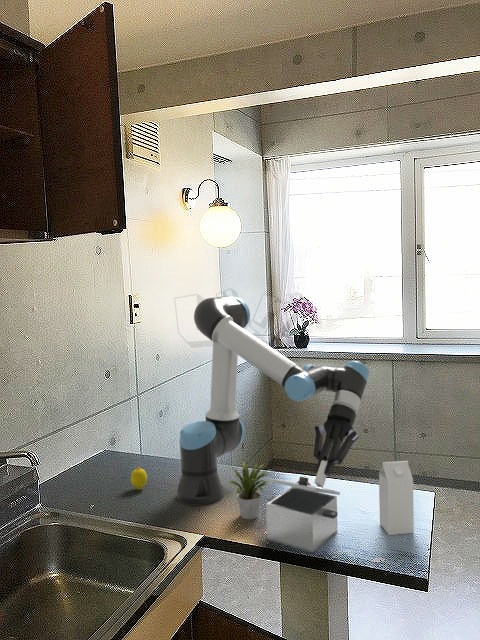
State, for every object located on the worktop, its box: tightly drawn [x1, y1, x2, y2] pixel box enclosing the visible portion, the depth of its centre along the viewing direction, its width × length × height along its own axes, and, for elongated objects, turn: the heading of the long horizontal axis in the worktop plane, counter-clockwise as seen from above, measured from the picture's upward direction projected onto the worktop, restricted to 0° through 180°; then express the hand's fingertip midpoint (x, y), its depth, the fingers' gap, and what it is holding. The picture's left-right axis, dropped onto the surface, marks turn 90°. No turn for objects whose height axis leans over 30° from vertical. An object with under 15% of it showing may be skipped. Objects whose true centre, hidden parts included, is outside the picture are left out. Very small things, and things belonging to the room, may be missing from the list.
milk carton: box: [378, 460, 415, 536], centre depth 154 cm, size 7×7×19 cm
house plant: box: [228, 461, 275, 520], centre depth 165 cm, size 14×14×16 cm
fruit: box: [130, 466, 148, 491], centre depth 191 cm, size 6×6×8 cm
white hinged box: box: [265, 486, 339, 554], centre depth 152 cm, size 20×14×10 cm
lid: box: [264, 476, 341, 496], centre depth 153 cm, size 15×16×3 cm
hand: (318, 485), depth 149 cm, fingers closed
